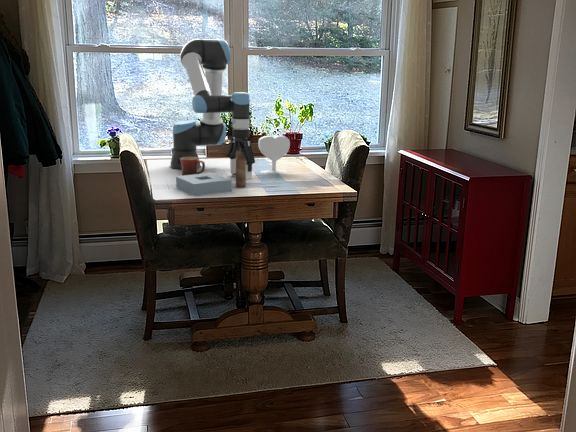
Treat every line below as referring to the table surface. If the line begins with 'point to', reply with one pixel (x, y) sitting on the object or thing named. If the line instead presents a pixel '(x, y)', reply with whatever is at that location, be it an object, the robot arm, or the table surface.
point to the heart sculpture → (274, 149)
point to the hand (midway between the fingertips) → (240, 176)
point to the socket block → (203, 183)
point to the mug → (191, 165)
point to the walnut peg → (240, 169)
